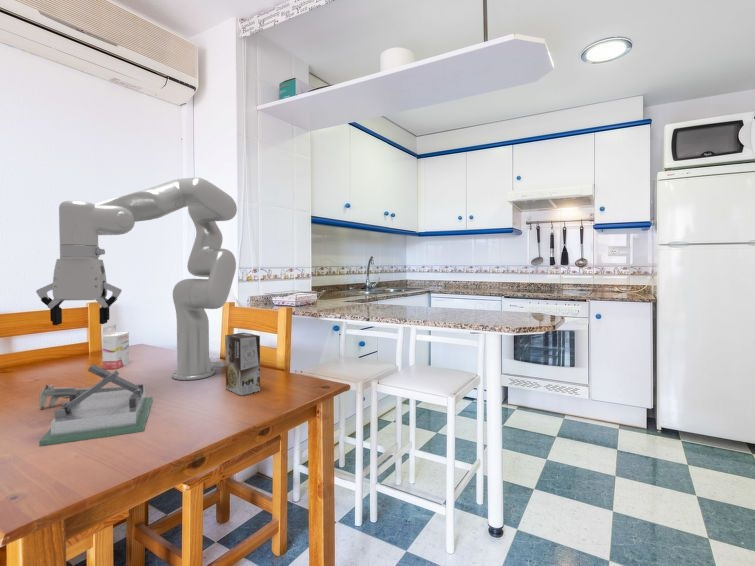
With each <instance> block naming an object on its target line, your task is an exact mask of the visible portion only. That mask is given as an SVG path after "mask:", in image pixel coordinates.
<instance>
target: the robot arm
mask: <svg viewBox="0 0 755 566" xmlns="http://www.w3.org/2000/svg"><path fill="white" fill-rule="evenodd" d="M186 207H187V211H188V214H189V216H190V218H191V220H192V222H193V224H194V228H195V233H196V234H195V239H194V242H193V245H192V248H191V251H190V254H189V257H188V261H187V271H188V273H189V274H191V275H192V276H194V277H198V278H186V279H182V280H180V281H178V282H176V284H175V285H174V287H173V289H172V300H173V305H174V309H175V316H176V352H177V353H176V355H177V356H176V357H177V361H176V362H177V364H176V365H177V370H176V371H173V372H172V374H171V376H172V379H174V380H178V381H194V380H201V379H205V378H208V377H211V376H213V375H215V369H216V368H217V369H222V368H223V369H224V368H225V361H219V360H217V361H212V360H211V358H210V323H209V322H210V321H209V317H208V315H207V312H206V310H217V309H220V308H222V307H223V306H224V305H225V304H226V302H227V300H228V298H229V295H230V291H231V288H232V285H233V281H234V277H235V274H236V269H237V262H236V260H237V259H236V257H235V254H234V253H233V252H232V251H230V250H229V249H226V248H222V245H223V234H222V231H221V229H220V228H219V226H218V224H217V222H226V221H227V222H228V221H231V220H232V219H234V218H235V217H236V215H237V212H238V207H237V203H236V201H235V200H234V198H233V197H232V196H231V195H230V194H228V193H227V192H225V191H223V189H221V188H219V187H218V186H216V185H215V184H214V183H212V182H210V181H209V180H207V179H204V178H201V177H188V178H187V177H186V178H177V179H172V180H170V181H166V182H164V183H161V184H158V185H155V186H151V187H149V188H146V189H143V190H139V191H135V192H132V193H128V194H125V195H121V196H118V197H115V198H110V199H107V200H104V201H100V202H97V203H91V202H87V201H82V200H81V201H80V200H79V201H78V200H65V201H61V202H60V204H59V205H58V221H59V222H58V226H59V227H58V228H59V258H56V261H55V265H54V271H53V277H52V283H49V284H47V285H45V286H43V287H40V288H38V289H36V292H35V293H36V294H37V296H38V297H39V298H40V302H42V303H43V304H44V305H46V306H47V308H48V309H50V314H49V315H50V322H51V324H52V326H57V325H58V326H59V325H61V324H62V323H63V312H62V311H63V310H62V309H63V308H62V307H61V306H60V305H61V304H62V303H64V302H65V301H96V302H97V303H98V304H99V305H100V306H101V307H100V308H99V309H98V310H99V324H100V325H105V324H107V323H108V321H110V307H111V306H112V305H113V304H114V303H116V302H117V300H118V298H119V297H120V295H121V294H122V288H119V287H117V286H114V285H112V284H110V283H108V282H107V275H106V268H105V264H104V260H103V259H99V258H100V256H101V255H103V256H104V255H105V254H106V250H105V248H100V246H99V236H121V235H125V234H127V233H129V232H131V231H132V230H133V228H134V226H135V224H136V223H137V222H144V221H145V222H146V221H151V220H155V219H156V220H157V219H160V218H163V217H165V216H167V215H169V214H171V213H174V212H177V211H179V210H180V209H183V208H186ZM199 277H200V278H199ZM51 291H52V297H53V299H52V298H51V297H50V296H49V295H48V292H51ZM108 291H110V292H111V296H110V297H109V298H108V299H107V296H108Z"/></svg>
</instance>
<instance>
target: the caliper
mask: <svg viewBox="0 0 755 566" xmlns="http://www.w3.org/2000/svg"><path fill="white" fill-rule="evenodd" d="M90 388H91V387H87V388H86V387H85V388H83V387H81V388H76V387H69V386H68V387H54V384H53V383H51V384H50V385H48V384H47V383H46V384H45V388H42V389H41V392H40V394H39V408H40V409H41V410H44V409H45V406H46V402H47V400H48V397H50V400H49V403H48V408H50V409H51V408H53V407H54V406H55V404H56V402H57V401H58V399H59V398H62V399H70V394H71V393H72V392H73V391H75V390H80V395H81V394H82V393H84V392H85V391H87V390H88V389H90ZM120 390H127V389H125V388H123V387H120V386H110V387H109V386H107V387H106V386H105V387H104V386H103V387H102V388H100V389H99V390H97V391H96V392H94V393H101V392H110V391H120Z"/></svg>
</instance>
